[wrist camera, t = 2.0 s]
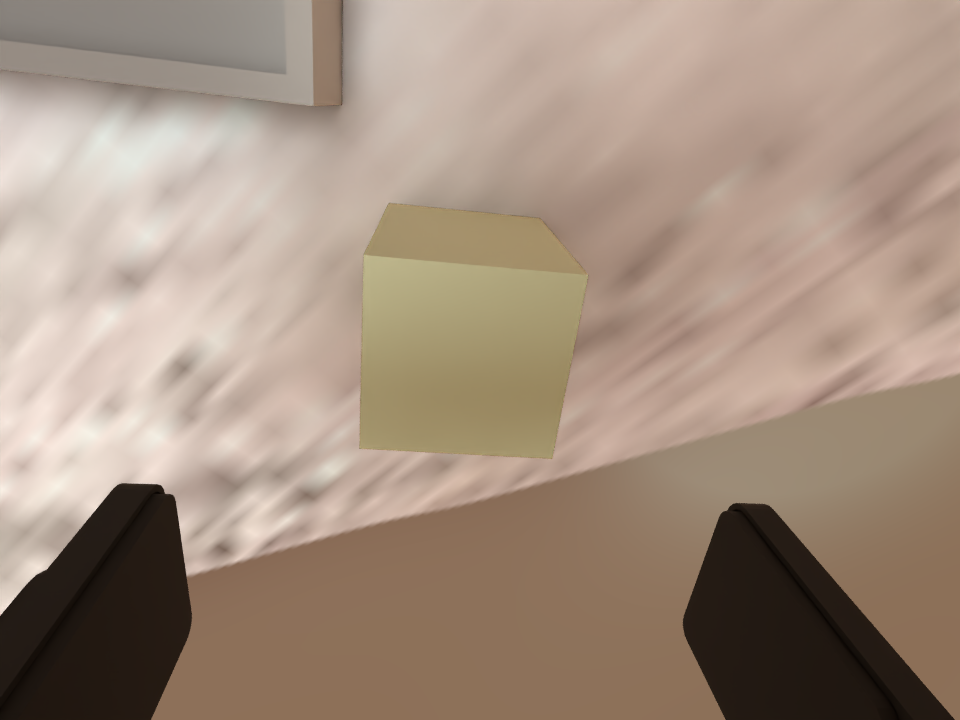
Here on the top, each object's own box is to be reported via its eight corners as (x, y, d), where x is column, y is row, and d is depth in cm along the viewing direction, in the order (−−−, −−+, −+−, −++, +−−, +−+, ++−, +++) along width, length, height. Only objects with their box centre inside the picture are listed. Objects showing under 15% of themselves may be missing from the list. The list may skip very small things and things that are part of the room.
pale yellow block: (540, 217, 22) (588, 275, 15) (519, 353, 25) (552, 458, 17) (388, 202, 22) (363, 254, 14) (383, 343, 24) (359, 448, 17)
